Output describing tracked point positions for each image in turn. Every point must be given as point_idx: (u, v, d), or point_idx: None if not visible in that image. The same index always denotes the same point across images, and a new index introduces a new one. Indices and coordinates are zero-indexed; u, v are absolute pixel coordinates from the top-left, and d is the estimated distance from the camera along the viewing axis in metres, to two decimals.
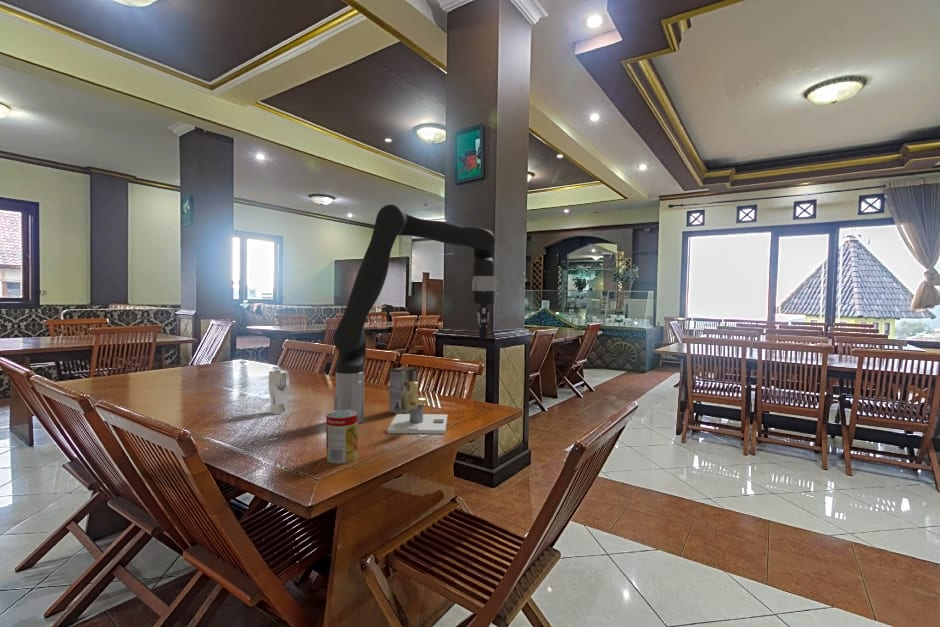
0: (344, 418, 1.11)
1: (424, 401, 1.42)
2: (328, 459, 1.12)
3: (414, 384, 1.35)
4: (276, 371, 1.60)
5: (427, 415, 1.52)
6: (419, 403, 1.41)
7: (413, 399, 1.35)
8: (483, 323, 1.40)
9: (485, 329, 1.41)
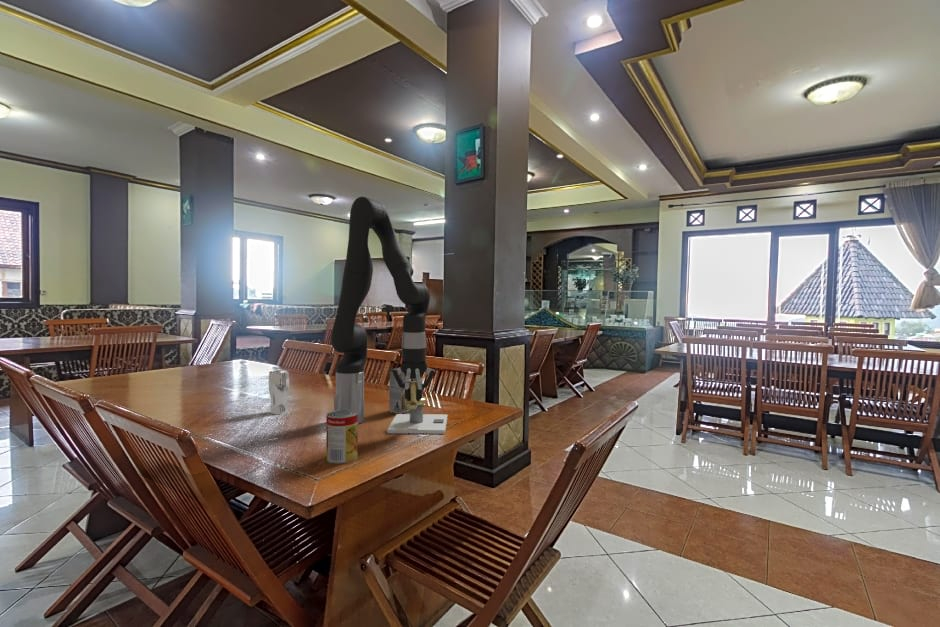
0: (344, 418, 1.11)
1: (424, 401, 1.42)
2: (328, 459, 1.12)
3: (414, 384, 1.35)
4: (276, 371, 1.60)
5: (427, 415, 1.52)
6: (419, 403, 1.41)
7: (413, 399, 1.35)
8: None
9: None
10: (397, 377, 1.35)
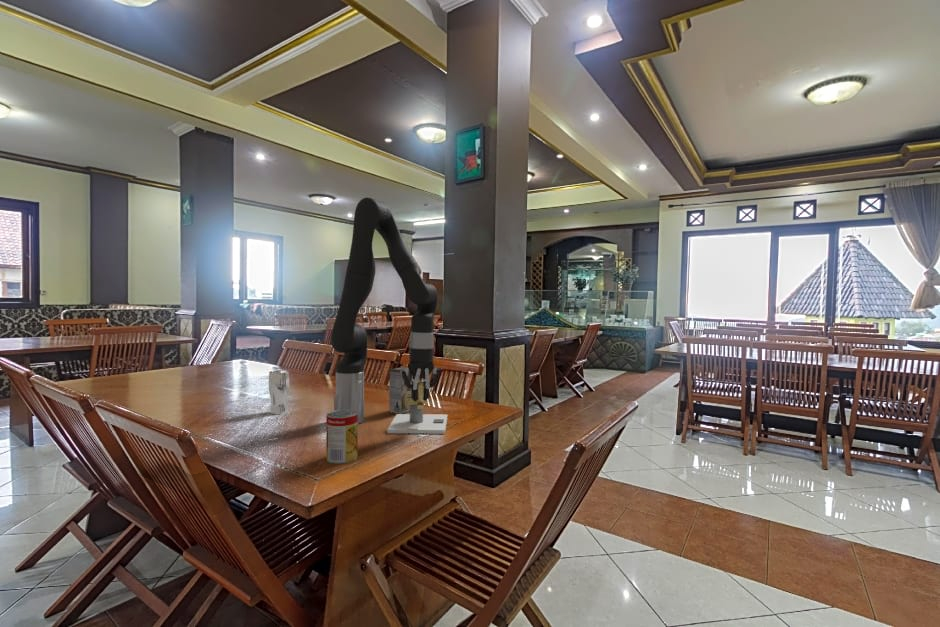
0: (344, 418, 1.11)
1: None
2: (328, 459, 1.12)
3: (422, 384, 1.36)
4: (276, 371, 1.60)
5: (427, 415, 1.52)
6: None
7: (421, 398, 1.36)
8: None
9: None
10: (406, 378, 1.34)
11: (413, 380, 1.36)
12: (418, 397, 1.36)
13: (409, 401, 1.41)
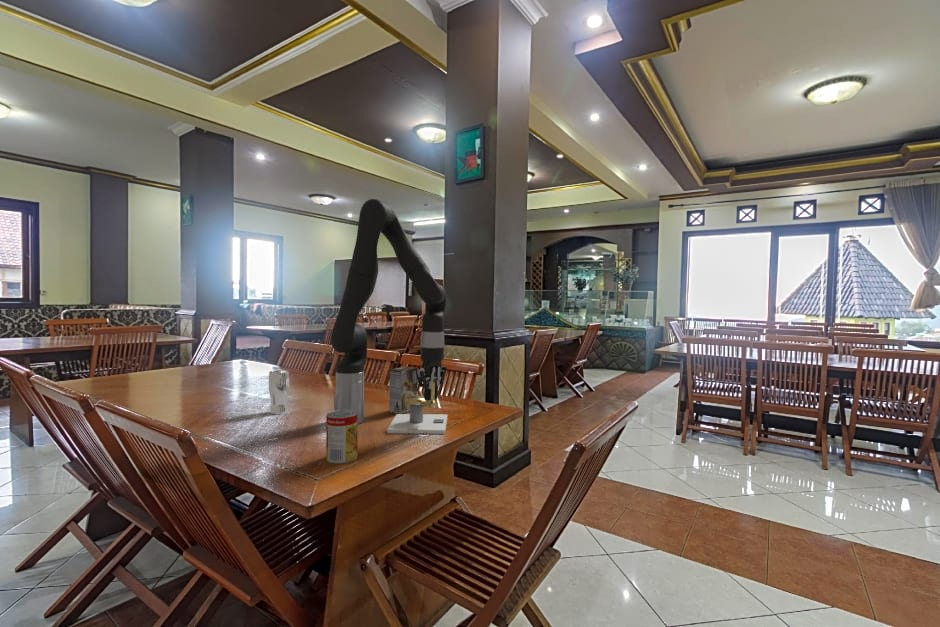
0: (344, 418, 1.11)
1: None
2: (328, 459, 1.12)
3: (434, 382, 1.38)
4: (276, 371, 1.60)
5: (427, 415, 1.52)
6: None
7: (434, 397, 1.38)
8: None
9: None
10: (424, 378, 1.34)
11: (427, 380, 1.37)
12: (431, 396, 1.38)
13: (414, 401, 1.41)
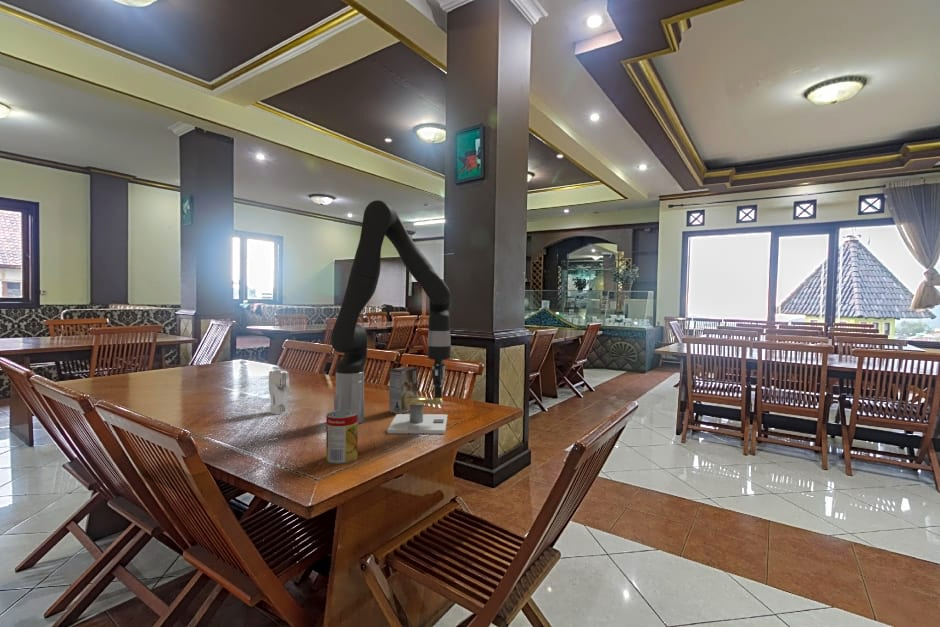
0: (344, 418, 1.11)
1: None
2: (328, 459, 1.12)
3: None
4: (276, 371, 1.60)
5: (427, 415, 1.52)
6: None
7: None
8: None
9: None
10: (440, 376, 1.37)
11: None
12: None
13: (420, 401, 1.41)
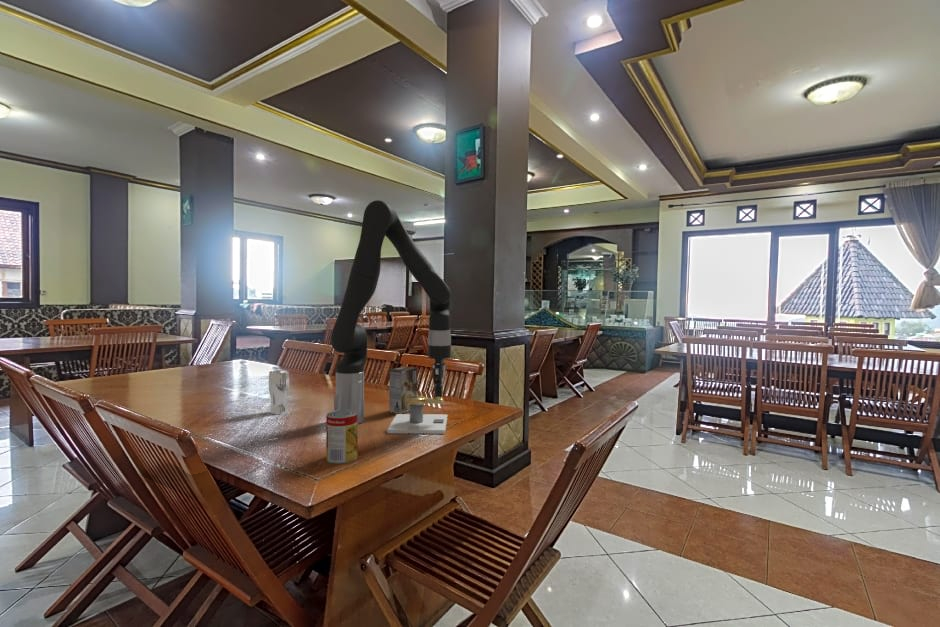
0: (344, 418, 1.11)
1: None
2: (328, 459, 1.12)
3: None
4: (276, 371, 1.60)
5: (427, 415, 1.52)
6: None
7: (442, 393, 1.43)
8: None
9: None
10: (441, 375, 1.38)
11: None
12: None
13: (421, 401, 1.41)
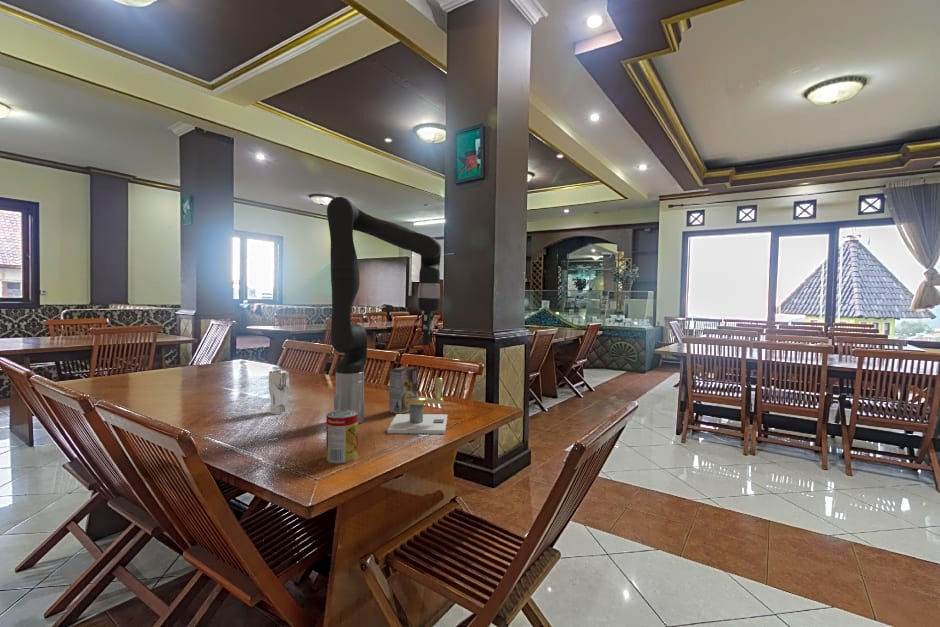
0: (344, 418, 1.11)
1: None
2: (328, 459, 1.12)
3: None
4: (276, 371, 1.60)
5: (427, 415, 1.52)
6: None
7: (442, 393, 1.43)
8: None
9: None
10: (429, 322, 1.42)
11: (427, 326, 1.45)
12: (441, 392, 1.43)
13: (421, 401, 1.41)
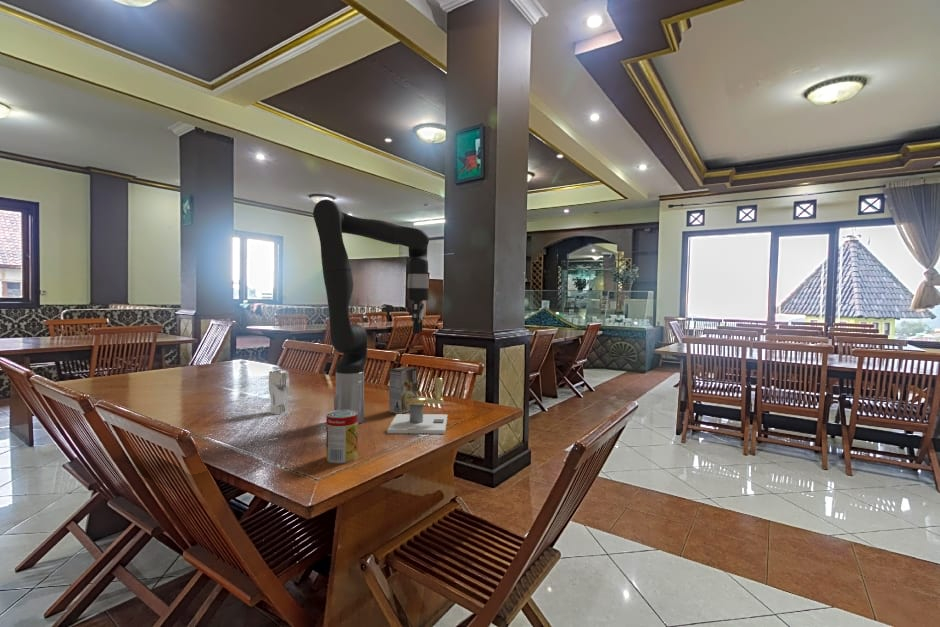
0: (344, 418, 1.11)
1: None
2: (328, 459, 1.12)
3: None
4: (276, 371, 1.60)
5: (427, 415, 1.52)
6: None
7: (442, 393, 1.43)
8: None
9: None
10: (419, 311, 1.48)
11: (417, 315, 1.50)
12: (441, 392, 1.43)
13: (421, 401, 1.41)
